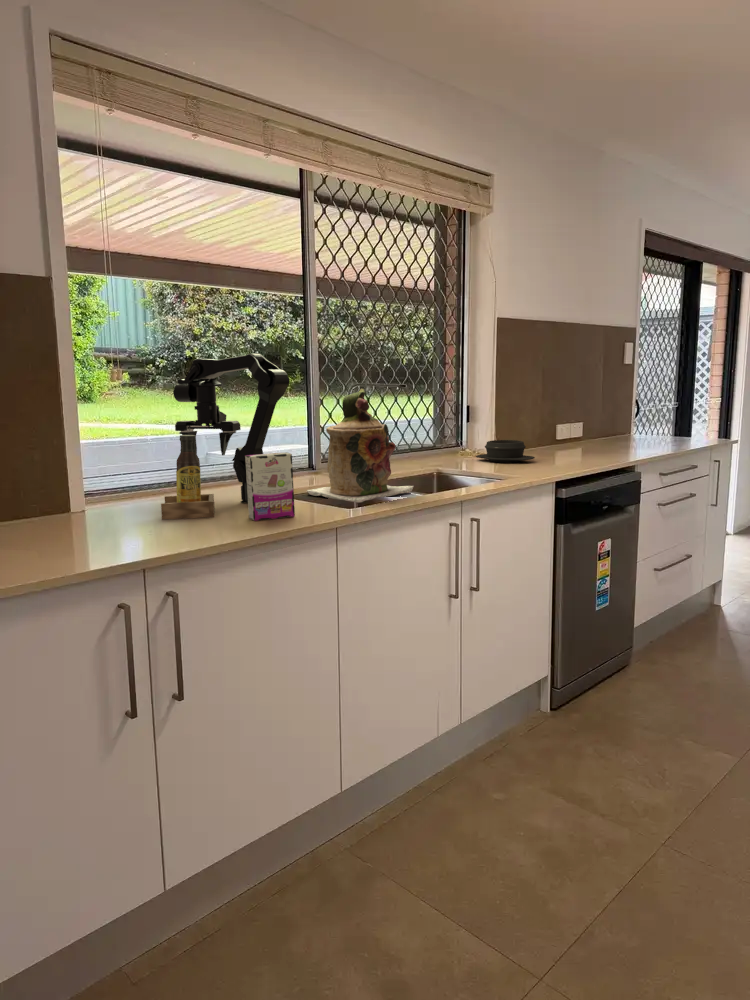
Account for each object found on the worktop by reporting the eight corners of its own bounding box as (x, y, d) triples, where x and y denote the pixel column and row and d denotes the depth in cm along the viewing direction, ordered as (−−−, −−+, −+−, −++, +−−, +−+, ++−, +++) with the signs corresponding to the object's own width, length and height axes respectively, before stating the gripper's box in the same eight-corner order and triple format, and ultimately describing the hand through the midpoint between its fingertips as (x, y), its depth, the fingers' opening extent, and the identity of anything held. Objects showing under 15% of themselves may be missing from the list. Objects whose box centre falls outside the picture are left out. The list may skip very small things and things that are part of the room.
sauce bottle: (180, 512, 183) (176, 436, 180) (174, 509, 189) (170, 435, 185) (205, 510, 187) (201, 435, 183) (198, 506, 192) (194, 433, 189)
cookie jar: (303, 495, 215) (299, 389, 209) (357, 485, 233) (355, 388, 228) (363, 504, 199) (361, 389, 193) (416, 492, 217) (416, 387, 212)
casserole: (467, 462, 294) (467, 442, 292) (487, 457, 309) (487, 438, 307) (523, 465, 280) (524, 444, 278) (541, 460, 295) (542, 440, 293)
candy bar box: (288, 513, 186) (286, 451, 183) (295, 517, 181) (293, 453, 178) (247, 518, 180) (244, 454, 178) (253, 521, 176) (250, 456, 173)
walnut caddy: (214, 508, 195) (213, 493, 195) (214, 516, 183) (213, 501, 182) (165, 510, 193) (164, 496, 192) (162, 519, 180) (161, 504, 180)
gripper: (247, 401, 213) (249, 452, 215) (191, 401, 217) (194, 451, 220) (230, 402, 202) (233, 456, 205) (172, 402, 207) (175, 455, 209)
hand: (209, 455), depth 210 cm, fingers open, 9 cm apart
